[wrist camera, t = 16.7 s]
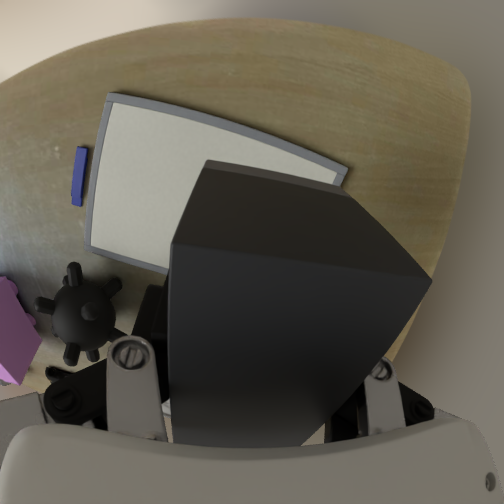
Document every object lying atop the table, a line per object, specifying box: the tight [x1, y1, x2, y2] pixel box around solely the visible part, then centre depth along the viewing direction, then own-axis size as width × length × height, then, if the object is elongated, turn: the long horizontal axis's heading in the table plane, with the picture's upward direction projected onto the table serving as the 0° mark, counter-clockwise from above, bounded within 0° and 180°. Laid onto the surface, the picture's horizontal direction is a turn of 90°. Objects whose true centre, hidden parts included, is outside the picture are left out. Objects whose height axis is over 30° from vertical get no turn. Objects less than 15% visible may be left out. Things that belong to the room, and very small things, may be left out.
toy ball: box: [34, 262, 128, 366], centre depth 24 cm, size 11×11×12 cm
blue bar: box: [72, 158, 88, 207], centre depth 22 cm, size 5×1×1 cm, turn 159°
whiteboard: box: [84, 92, 348, 275], centre depth 24 cm, size 16×22×1 cm
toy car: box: [45, 367, 71, 384], centre depth 37 cm, size 8×12×4 cm
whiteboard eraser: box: [168, 159, 432, 448], centre depth 9 cm, size 10×5×6 cm, turn 168°
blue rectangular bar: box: [71, 146, 88, 198], centre depth 21 cm, size 5×1×1 cm, turn 160°
